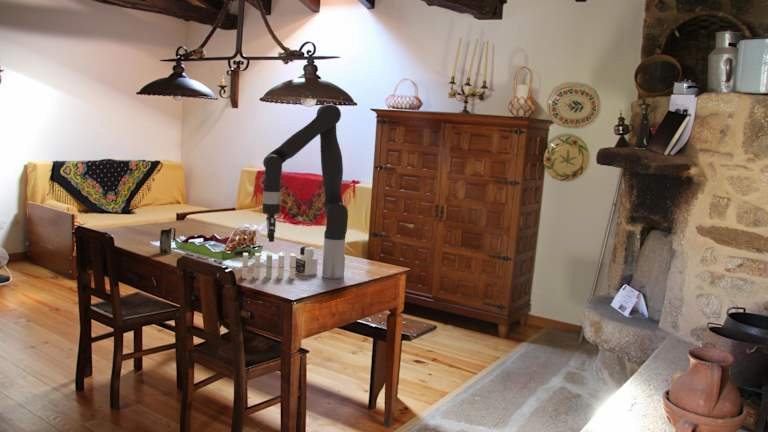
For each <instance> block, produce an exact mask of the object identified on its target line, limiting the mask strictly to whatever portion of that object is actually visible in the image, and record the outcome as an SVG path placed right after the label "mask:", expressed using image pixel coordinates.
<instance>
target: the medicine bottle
mask: <svg viewBox="0 0 768 432" xmlns="http://www.w3.org/2000/svg"><path fill="white" fill-rule="evenodd" d="M299 251H300V252H299V256H296V269H295V274H297V275H301V276H312V275H317V274H318V260H319V259H318V258H316V257H314V256H315V248H314V247H312V246H301V247H300V249H299Z"/></svg>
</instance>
